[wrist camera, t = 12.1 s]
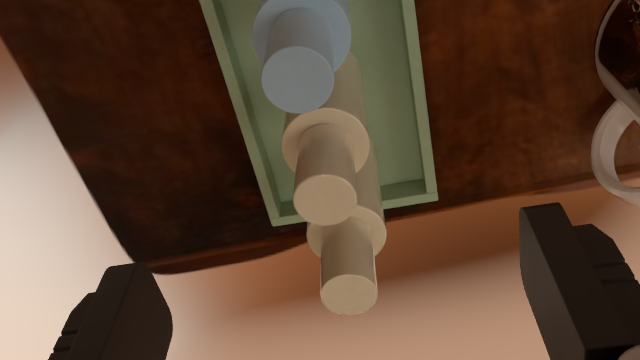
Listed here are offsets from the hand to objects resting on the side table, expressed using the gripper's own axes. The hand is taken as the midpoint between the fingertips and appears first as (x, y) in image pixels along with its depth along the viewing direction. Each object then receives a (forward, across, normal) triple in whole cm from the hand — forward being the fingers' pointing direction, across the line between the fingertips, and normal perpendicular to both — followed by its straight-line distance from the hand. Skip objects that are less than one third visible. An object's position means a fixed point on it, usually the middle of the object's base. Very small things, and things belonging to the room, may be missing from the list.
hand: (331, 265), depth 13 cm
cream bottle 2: (+24, +2, +12) cm, 27 cm away
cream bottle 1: (+24, +2, +7) cm, 25 cm away
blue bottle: (+24, +2, +1) cm, 24 cm away
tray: (+25, +2, +7) cm, 26 cm away
